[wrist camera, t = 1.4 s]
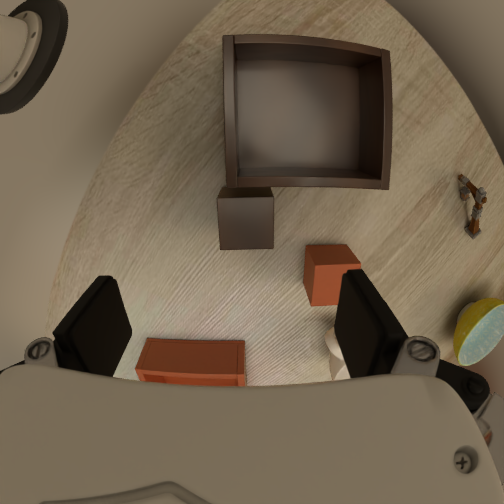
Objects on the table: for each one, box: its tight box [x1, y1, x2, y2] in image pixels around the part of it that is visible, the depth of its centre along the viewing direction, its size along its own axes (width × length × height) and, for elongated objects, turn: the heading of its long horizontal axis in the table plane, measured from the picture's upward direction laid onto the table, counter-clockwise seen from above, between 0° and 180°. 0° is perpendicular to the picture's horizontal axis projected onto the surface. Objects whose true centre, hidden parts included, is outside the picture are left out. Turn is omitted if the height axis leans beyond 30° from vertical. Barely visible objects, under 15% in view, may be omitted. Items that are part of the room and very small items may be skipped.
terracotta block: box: [303, 245, 361, 306], centre depth 26 cm, size 4×4×4 cm
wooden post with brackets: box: [458, 174, 487, 239], centre depth 24 cm, size 2×8×4 cm, turn 33°
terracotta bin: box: [135, 338, 247, 386], centre depth 33 cm, size 13×12×6 cm
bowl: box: [453, 298, 504, 366], centre depth 30 cm, size 11×12×6 cm
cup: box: [325, 327, 350, 381], centre depth 30 cm, size 8×10×7 cm
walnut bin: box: [222, 34, 392, 190], centre depth 20 cm, size 13×12×6 cm
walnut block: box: [217, 187, 274, 250], centre depth 24 cm, size 4×4×4 cm
